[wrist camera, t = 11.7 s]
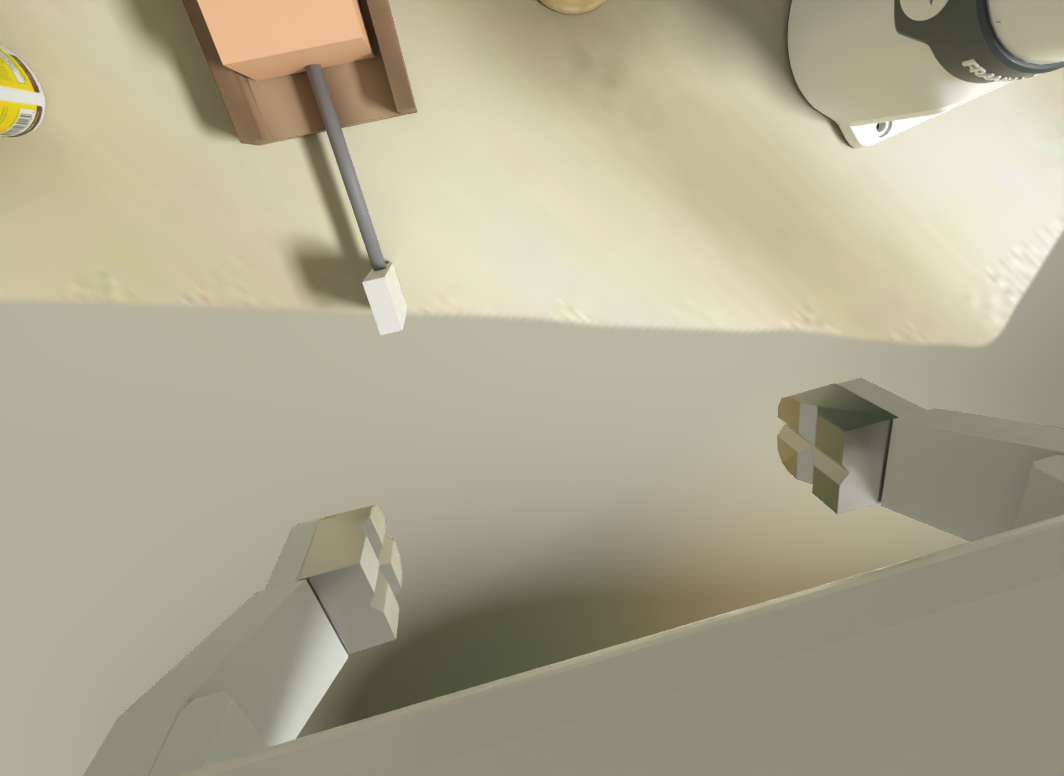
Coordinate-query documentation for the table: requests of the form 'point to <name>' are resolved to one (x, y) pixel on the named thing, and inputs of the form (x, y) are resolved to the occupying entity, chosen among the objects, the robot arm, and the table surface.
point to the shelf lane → (290, 99)
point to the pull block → (309, 45)
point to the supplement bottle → (19, 97)
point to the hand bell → (572, 5)
